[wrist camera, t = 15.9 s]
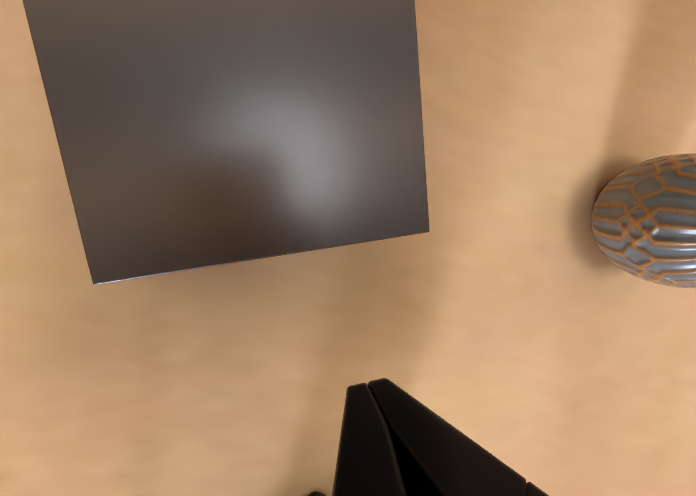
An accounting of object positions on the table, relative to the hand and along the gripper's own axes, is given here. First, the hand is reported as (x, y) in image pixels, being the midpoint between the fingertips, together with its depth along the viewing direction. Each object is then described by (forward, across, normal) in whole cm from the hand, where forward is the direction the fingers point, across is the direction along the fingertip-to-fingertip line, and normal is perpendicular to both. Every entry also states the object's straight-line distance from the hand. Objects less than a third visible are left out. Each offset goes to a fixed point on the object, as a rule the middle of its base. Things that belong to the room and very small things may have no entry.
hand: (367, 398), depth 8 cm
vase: (+13, -19, +3) cm, 23 cm away
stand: (+13, +2, -6) cm, 14 cm away
